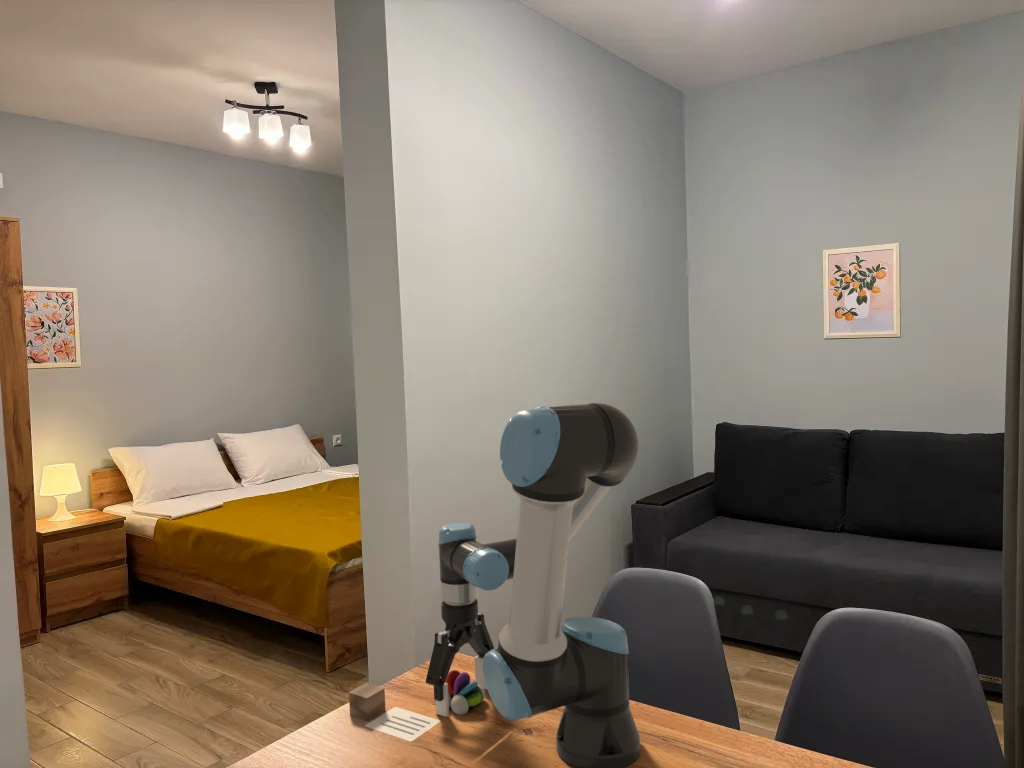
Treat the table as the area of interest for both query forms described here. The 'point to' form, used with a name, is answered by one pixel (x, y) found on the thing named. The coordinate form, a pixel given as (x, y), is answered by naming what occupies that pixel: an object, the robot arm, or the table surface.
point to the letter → (403, 723)
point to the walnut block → (367, 701)
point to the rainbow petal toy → (463, 692)
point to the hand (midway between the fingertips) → (462, 700)
